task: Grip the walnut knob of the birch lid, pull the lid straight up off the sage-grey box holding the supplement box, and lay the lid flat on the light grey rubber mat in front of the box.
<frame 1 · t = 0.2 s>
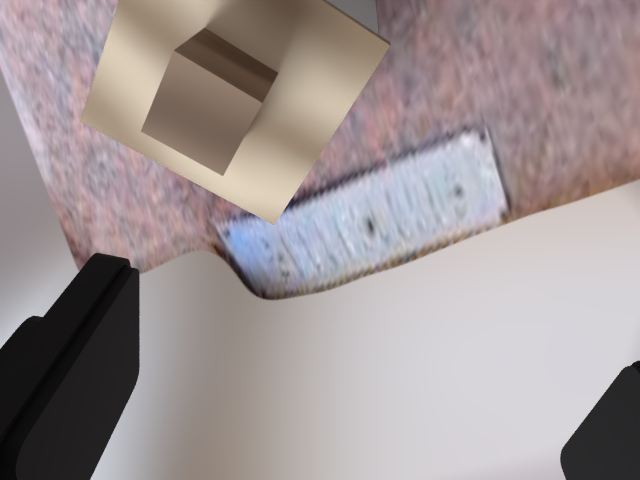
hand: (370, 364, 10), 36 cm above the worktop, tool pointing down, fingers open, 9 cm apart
box: (270, 28, 41), on the worktop
lid: (232, 76, 29), point 14 cm above the worktop, touching box
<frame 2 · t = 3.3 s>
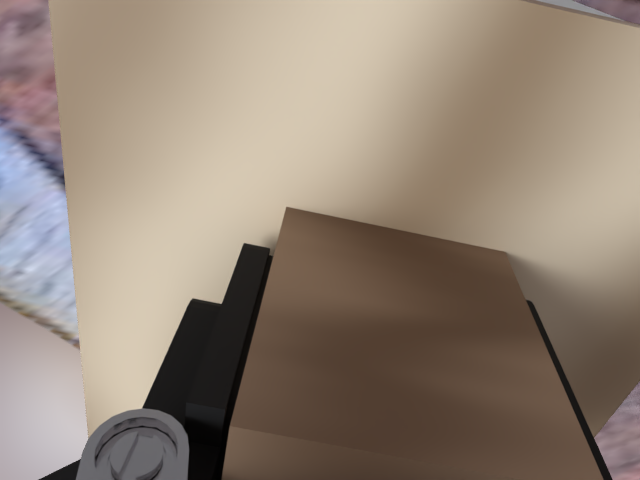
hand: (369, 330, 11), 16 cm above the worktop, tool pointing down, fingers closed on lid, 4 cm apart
box: (364, 97, 24), on the worktop
lid: (368, 265, 13), point 14 cm above the worktop, touching box, gripper
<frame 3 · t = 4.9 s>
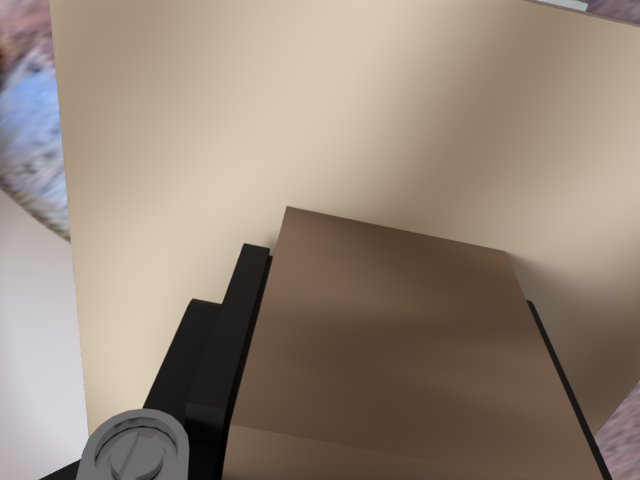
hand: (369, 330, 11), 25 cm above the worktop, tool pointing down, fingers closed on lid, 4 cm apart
lid: (368, 264, 13), point 22 cm above the worktop, touching gripper
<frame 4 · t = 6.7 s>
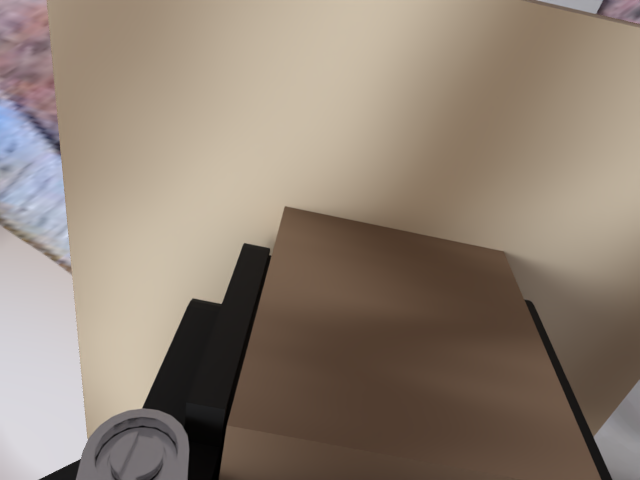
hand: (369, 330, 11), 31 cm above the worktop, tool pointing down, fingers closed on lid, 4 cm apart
lid: (366, 264, 13), point 29 cm above the worktop, touching gripper
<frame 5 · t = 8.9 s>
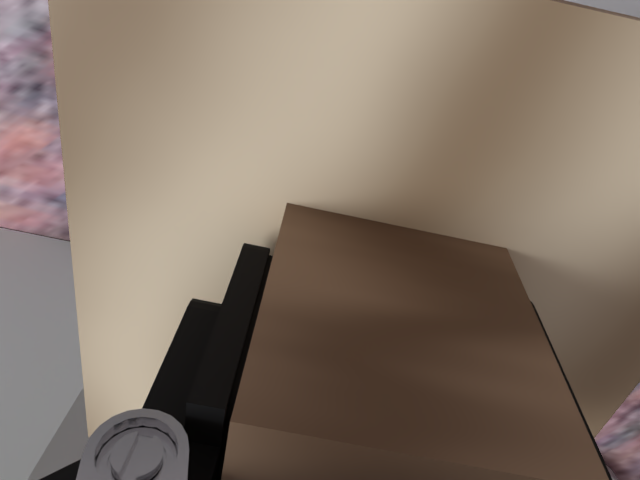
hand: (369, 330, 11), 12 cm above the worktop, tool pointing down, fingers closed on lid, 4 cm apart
box: (47, 326, 28), on the worktop
mat: (367, 136, 21), on the worktop
lid: (368, 262, 12), point 10 cm above the worktop, touching gripper
when the fingers open (4 cm above the worktop, at t = 10.6 s): lid drops 1 cm, resting on mat.
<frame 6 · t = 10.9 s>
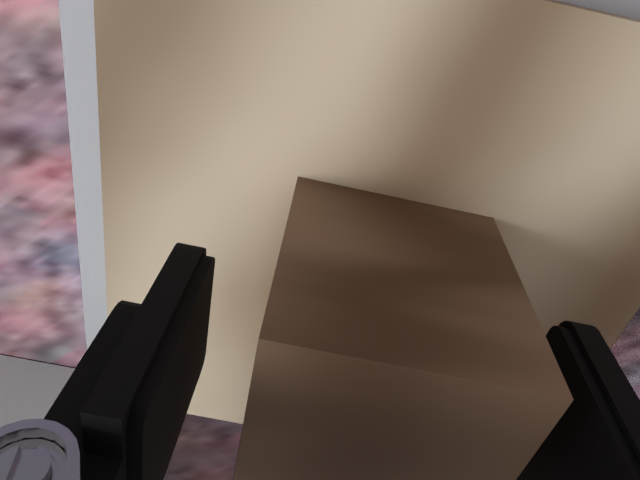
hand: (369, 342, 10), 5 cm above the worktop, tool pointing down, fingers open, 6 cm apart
mat: (367, 224, 14), on the worktop
lid: (370, 236, 14), point 1 cm above the worktop, touching mat
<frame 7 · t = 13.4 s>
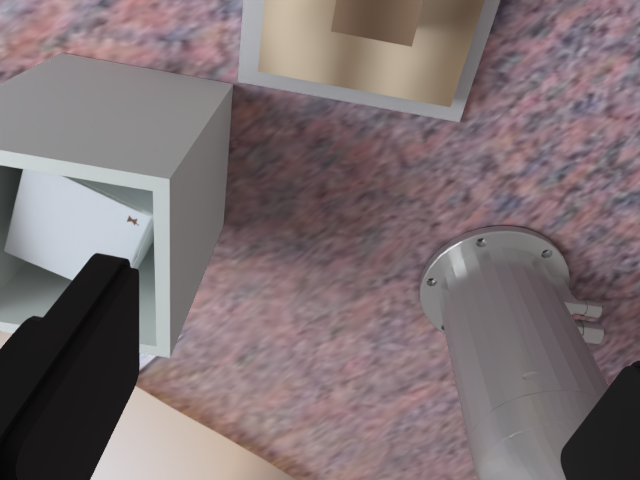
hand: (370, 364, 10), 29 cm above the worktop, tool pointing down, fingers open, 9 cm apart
box: (150, 147, 39), on the worktop
supplement box: (151, 146, 39), resting in box
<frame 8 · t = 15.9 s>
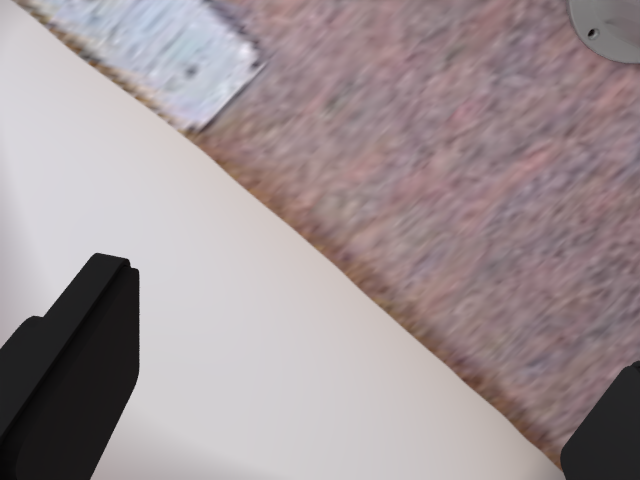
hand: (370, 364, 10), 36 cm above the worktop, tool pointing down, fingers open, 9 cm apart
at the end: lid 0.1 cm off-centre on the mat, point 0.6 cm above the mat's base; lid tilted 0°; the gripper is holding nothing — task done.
